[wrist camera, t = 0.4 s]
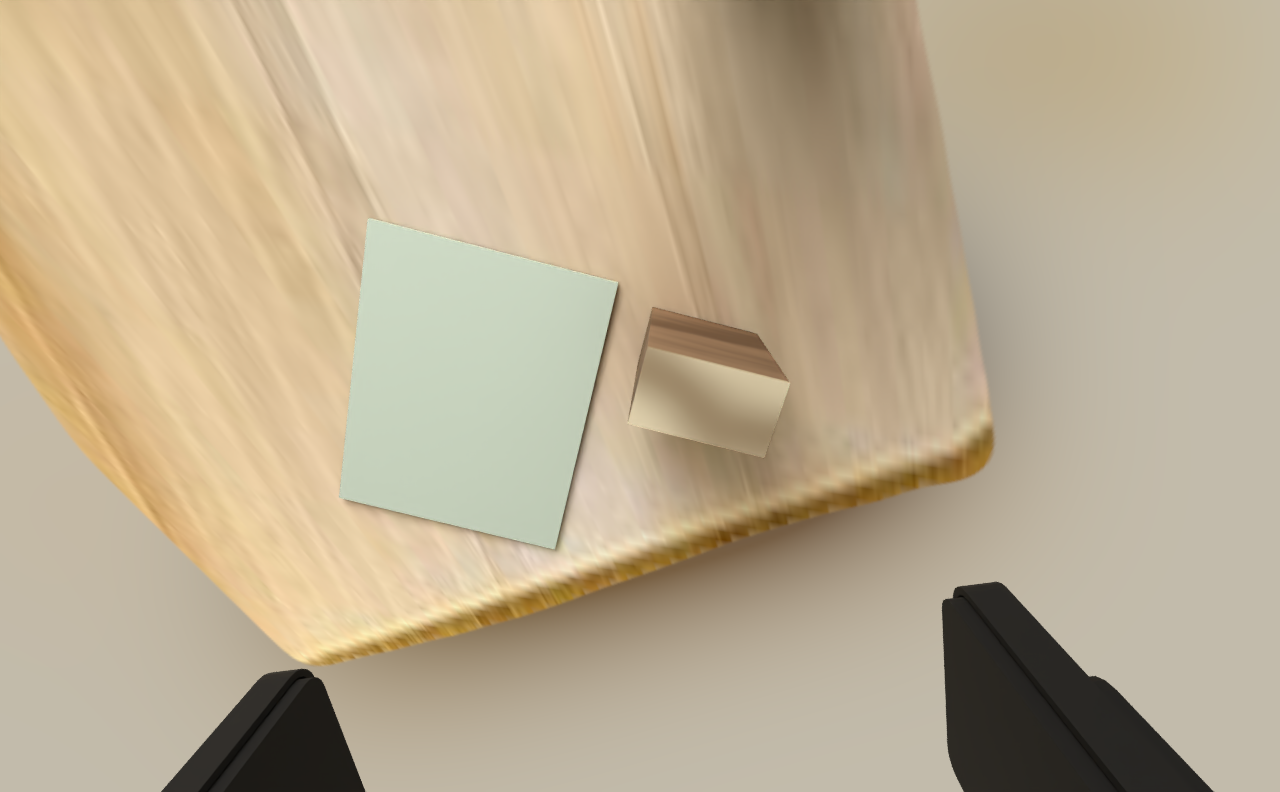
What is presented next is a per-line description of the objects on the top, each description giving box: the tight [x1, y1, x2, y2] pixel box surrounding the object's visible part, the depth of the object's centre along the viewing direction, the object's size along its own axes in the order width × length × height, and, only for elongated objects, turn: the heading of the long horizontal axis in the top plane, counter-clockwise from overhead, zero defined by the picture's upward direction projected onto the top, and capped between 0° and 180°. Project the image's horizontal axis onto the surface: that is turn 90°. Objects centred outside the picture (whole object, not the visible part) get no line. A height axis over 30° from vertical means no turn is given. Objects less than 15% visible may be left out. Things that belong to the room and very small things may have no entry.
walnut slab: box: [628, 307, 790, 458], centre depth 35 cm, size 4×7×11 cm, turn 76°
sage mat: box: [339, 218, 618, 550], centre depth 41 cm, size 20×16×1 cm
